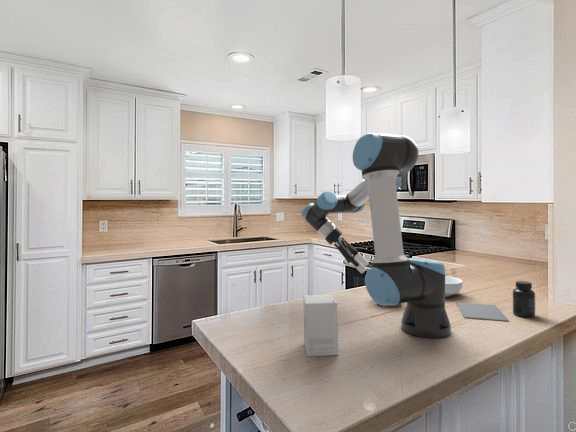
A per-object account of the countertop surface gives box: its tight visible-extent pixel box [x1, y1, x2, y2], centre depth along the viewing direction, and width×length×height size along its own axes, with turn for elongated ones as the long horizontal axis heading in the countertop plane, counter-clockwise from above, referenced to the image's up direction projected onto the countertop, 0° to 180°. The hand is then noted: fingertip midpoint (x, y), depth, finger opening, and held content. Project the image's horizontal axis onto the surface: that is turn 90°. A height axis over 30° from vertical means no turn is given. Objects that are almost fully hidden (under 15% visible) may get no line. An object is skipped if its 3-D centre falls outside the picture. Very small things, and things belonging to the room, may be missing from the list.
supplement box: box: [302, 294, 339, 357], centre depth 98 cm, size 9×9×15 cm
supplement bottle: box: [512, 280, 536, 319], centre depth 124 cm, size 7×7×12 cm
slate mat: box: [455, 302, 510, 322], centre depth 128 cm, size 18×14×1 cm
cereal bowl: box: [445, 275, 463, 298], centre depth 153 cm, size 17×17×7 cm
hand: (365, 268), depth 145 cm, fingers open, 13 cm apart
